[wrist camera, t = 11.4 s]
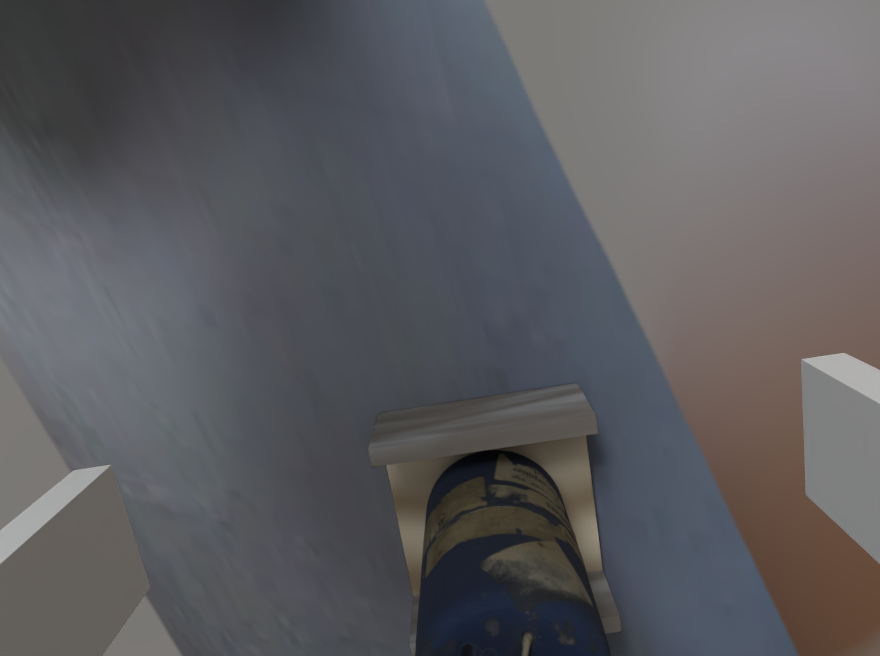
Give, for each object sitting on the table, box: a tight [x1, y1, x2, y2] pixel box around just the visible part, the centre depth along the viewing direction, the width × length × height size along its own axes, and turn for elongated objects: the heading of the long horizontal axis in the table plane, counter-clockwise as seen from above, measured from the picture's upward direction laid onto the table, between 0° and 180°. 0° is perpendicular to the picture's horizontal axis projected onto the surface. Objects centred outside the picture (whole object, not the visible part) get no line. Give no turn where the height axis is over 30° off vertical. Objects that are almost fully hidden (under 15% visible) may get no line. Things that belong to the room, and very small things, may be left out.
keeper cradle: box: [368, 383, 622, 656], centre depth 44 cm, size 15×14×6 cm
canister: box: [415, 450, 611, 656], centre depth 38 cm, size 10×10×18 cm
